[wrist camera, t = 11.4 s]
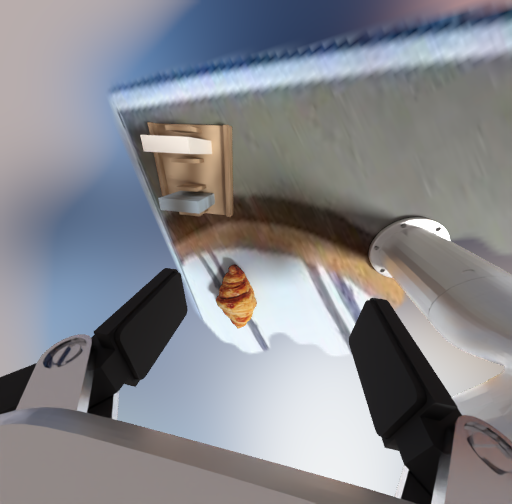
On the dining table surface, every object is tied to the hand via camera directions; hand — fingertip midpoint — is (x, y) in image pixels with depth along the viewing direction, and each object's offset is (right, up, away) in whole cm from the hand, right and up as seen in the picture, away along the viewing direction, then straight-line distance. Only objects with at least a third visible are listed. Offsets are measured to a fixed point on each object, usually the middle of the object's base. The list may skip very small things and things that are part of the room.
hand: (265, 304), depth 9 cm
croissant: (-5, -8, +39) cm, 40 cm away
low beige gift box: (-12, +21, +22) cm, 33 cm away
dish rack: (-12, +18, +25) cm, 33 cm away
